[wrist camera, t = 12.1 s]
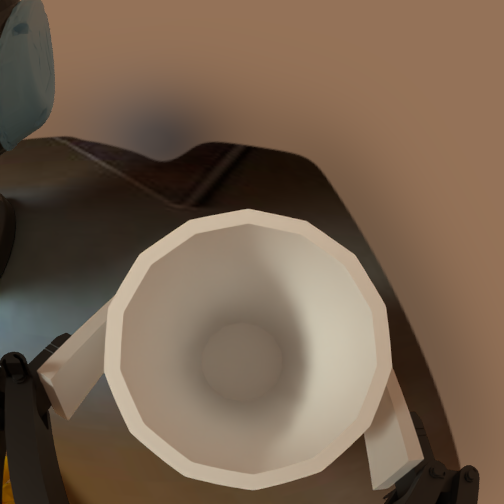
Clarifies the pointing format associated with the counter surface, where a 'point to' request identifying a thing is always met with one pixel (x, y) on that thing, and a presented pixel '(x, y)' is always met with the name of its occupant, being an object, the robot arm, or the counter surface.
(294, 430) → the foam cup
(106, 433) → the counter surface
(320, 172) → the counter surface
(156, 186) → the counter surface
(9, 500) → the figure statuette
